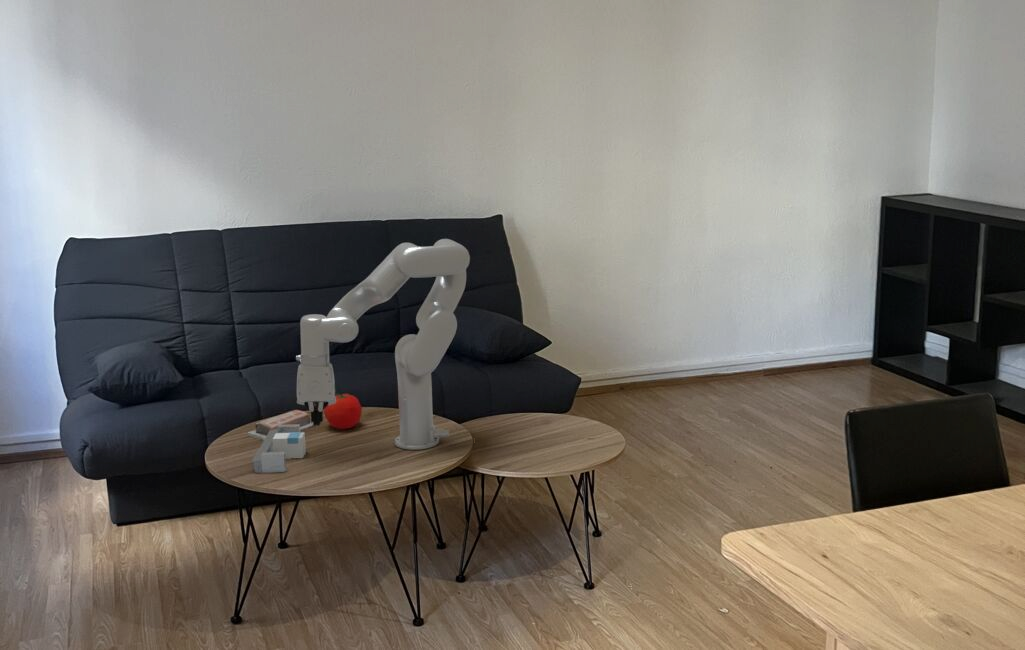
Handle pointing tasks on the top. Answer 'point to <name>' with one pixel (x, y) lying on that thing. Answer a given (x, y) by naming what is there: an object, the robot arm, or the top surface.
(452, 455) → the top surface
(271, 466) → the rail
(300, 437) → the block
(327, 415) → the tomato
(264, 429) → the packaged product
